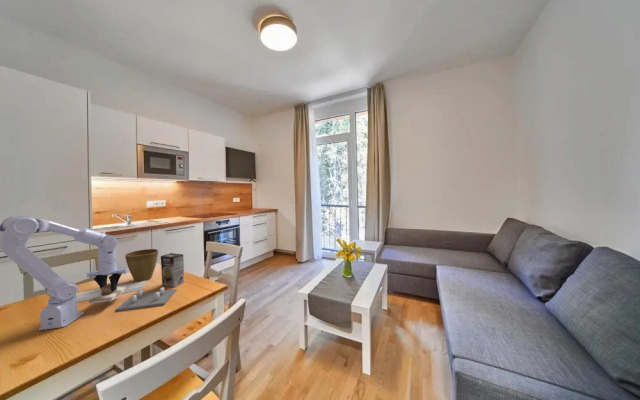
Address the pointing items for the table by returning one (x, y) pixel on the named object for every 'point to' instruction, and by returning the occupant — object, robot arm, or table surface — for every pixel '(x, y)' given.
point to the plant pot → (142, 263)
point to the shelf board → (109, 297)
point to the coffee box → (172, 269)
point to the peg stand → (147, 299)
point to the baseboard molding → (91, 294)
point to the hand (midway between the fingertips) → (109, 290)
